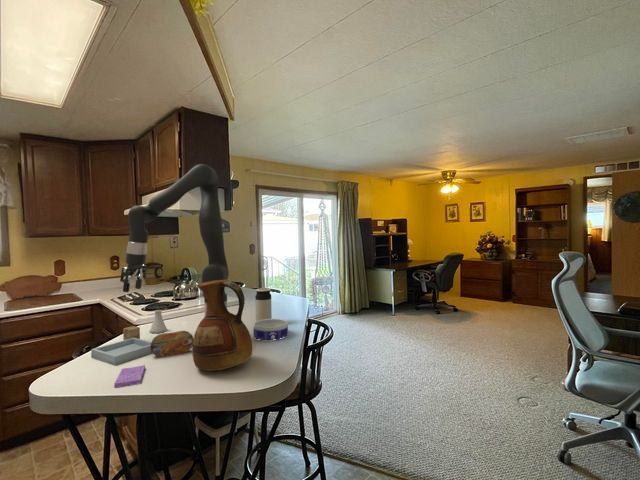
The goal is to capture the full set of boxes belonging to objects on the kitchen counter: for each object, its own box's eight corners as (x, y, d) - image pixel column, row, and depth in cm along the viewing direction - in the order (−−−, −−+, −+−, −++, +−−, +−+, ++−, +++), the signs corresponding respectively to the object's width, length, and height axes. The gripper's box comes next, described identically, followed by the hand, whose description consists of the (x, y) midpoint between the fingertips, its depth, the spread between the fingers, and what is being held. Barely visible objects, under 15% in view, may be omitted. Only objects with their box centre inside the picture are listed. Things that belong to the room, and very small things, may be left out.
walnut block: (140, 341, 140) (139, 327, 140) (129, 344, 136) (129, 329, 136) (133, 339, 143) (133, 326, 143) (123, 342, 139) (123, 328, 139)
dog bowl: (284, 329, 156) (284, 317, 156) (291, 339, 141) (291, 325, 141) (252, 333, 151) (251, 320, 151) (255, 343, 136) (255, 328, 136)
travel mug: (274, 323, 166) (274, 288, 166) (264, 327, 159) (263, 290, 159) (263, 321, 170) (262, 287, 170) (252, 325, 163) (252, 289, 163)
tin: (150, 358, 119) (150, 336, 119) (150, 356, 122) (150, 333, 122) (194, 351, 126) (193, 330, 126) (193, 349, 129) (192, 328, 129)
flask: (146, 332, 153) (146, 311, 152) (159, 328, 159) (158, 308, 159) (157, 334, 150) (157, 312, 150) (170, 330, 157) (169, 309, 156)
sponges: (114, 389, 96) (113, 383, 96) (121, 373, 108) (121, 367, 108) (140, 385, 99) (140, 379, 99) (145, 369, 111) (145, 364, 111)
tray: (157, 351, 127) (157, 343, 127) (114, 365, 113) (114, 356, 113) (133, 344, 135) (133, 337, 135) (91, 357, 121) (91, 349, 121)
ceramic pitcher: (205, 355, 122) (204, 276, 122) (258, 355, 122) (257, 275, 121) (181, 377, 103) (180, 283, 102) (244, 377, 102) (243, 282, 102)
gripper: (135, 254, 131) (130, 294, 131) (154, 253, 145) (149, 288, 145) (117, 252, 131) (112, 291, 131) (138, 250, 145) (133, 286, 146)
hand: (132, 290), depth 138 cm, fingers open, 8 cm apart
